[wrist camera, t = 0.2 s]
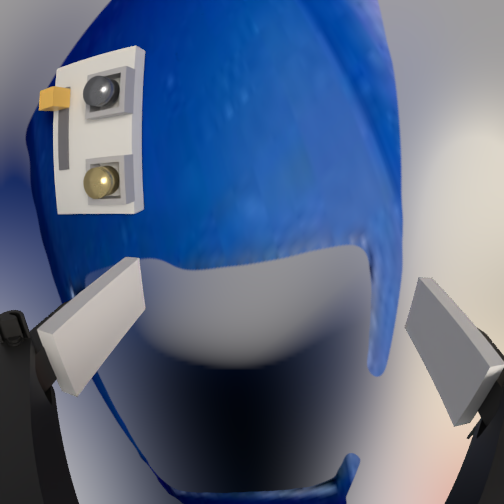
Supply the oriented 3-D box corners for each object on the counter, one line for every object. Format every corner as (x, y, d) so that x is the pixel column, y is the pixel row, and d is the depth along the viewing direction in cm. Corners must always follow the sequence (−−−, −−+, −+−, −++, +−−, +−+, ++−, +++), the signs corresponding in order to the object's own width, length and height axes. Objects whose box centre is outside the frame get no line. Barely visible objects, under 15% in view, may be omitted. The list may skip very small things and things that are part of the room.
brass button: (95, 166, 35) (82, 168, 32) (119, 164, 35) (106, 166, 32) (96, 195, 37) (84, 199, 34) (120, 194, 36) (108, 198, 33)
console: (68, 71, 35) (47, 66, 30) (146, 50, 34) (128, 40, 28) (68, 209, 43) (48, 218, 38) (145, 209, 42) (127, 218, 36)
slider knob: (57, 93, 33) (40, 91, 29) (70, 88, 33) (53, 86, 29) (55, 111, 34) (38, 110, 30) (69, 107, 34) (52, 106, 30)
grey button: (96, 82, 31) (83, 79, 28) (120, 76, 31) (108, 72, 28) (95, 109, 33) (82, 108, 30) (119, 104, 32) (107, 102, 29)
